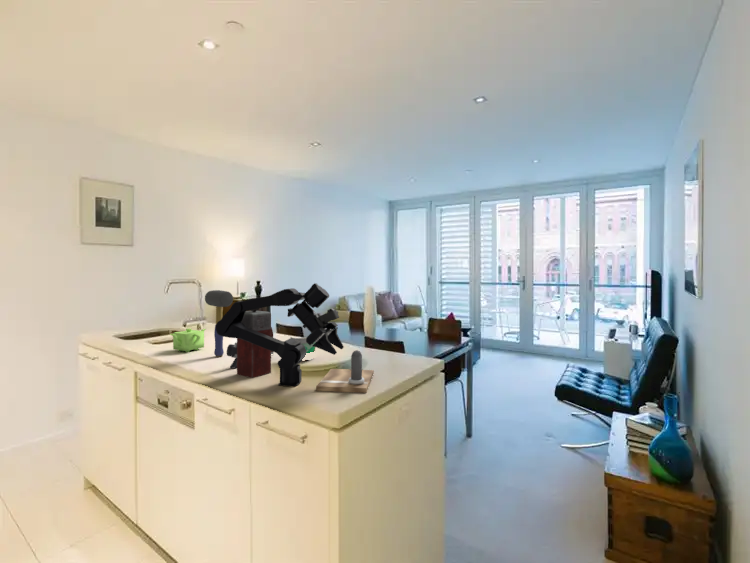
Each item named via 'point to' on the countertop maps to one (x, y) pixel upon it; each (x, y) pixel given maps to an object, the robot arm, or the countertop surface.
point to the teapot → (188, 340)
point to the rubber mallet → (218, 313)
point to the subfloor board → (344, 381)
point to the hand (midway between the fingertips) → (339, 350)
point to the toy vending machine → (254, 346)
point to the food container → (305, 344)
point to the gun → (234, 354)
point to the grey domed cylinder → (356, 368)
